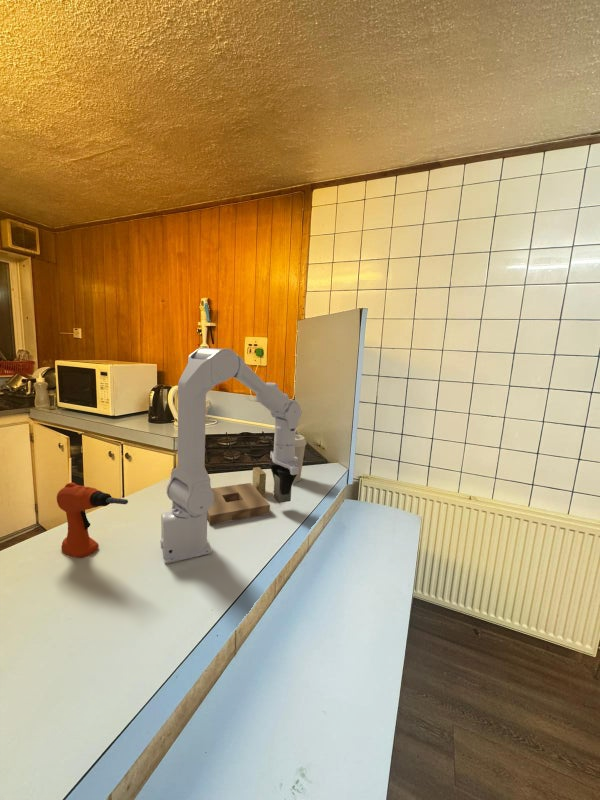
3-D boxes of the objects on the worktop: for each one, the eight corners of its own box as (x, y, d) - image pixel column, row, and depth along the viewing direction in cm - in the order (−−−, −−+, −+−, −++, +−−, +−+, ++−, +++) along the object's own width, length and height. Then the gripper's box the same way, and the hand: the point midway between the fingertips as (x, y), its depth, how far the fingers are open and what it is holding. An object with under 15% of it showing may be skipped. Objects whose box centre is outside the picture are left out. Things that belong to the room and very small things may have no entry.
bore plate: (209, 525, 82) (209, 515, 82) (197, 498, 96) (197, 490, 96) (269, 513, 90) (269, 504, 89) (250, 490, 104) (250, 482, 103)
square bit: (278, 503, 90) (279, 478, 89) (273, 497, 93) (274, 473, 92) (290, 501, 91) (291, 476, 90) (285, 495, 94) (286, 472, 93)
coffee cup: (302, 486, 109) (304, 441, 107) (274, 482, 111) (275, 439, 108) (306, 475, 118) (308, 434, 116) (280, 472, 120) (282, 432, 118)
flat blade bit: (258, 496, 100) (259, 474, 99) (252, 488, 105) (253, 467, 104) (265, 495, 101) (265, 473, 100) (258, 488, 106) (259, 467, 105)
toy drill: (124, 568, 63) (114, 492, 61) (56, 555, 69) (45, 485, 68) (144, 554, 67) (135, 482, 66) (78, 543, 74) (69, 477, 72)
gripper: (310, 449, 85) (307, 499, 87) (286, 435, 98) (284, 479, 100) (285, 451, 82) (283, 503, 84) (264, 437, 95) (262, 482, 96)
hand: (282, 490), depth 92 cm, fingers closed on square bit, 4 cm apart
